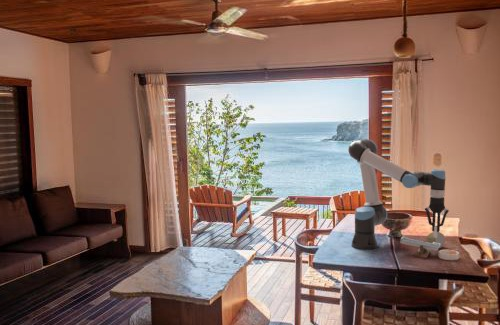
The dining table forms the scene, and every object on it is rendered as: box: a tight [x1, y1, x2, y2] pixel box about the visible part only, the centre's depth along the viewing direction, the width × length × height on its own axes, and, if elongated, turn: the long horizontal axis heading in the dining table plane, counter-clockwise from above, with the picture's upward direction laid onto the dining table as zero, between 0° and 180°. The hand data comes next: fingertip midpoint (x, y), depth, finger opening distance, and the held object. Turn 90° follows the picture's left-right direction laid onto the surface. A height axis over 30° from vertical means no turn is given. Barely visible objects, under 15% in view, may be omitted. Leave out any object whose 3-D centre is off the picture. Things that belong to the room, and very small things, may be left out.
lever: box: [399, 235, 441, 252], centre depth 264 cm, size 20×15×3 cm
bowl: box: [437, 249, 460, 261], centre depth 255 cm, size 10×10×3 cm
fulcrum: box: [415, 240, 431, 259], centre depth 261 cm, size 6×12×6 cm, turn 150°
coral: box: [426, 231, 446, 249], centre depth 276 cm, size 10×10×10 cm
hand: (435, 237), depth 264 cm, fingers closed
